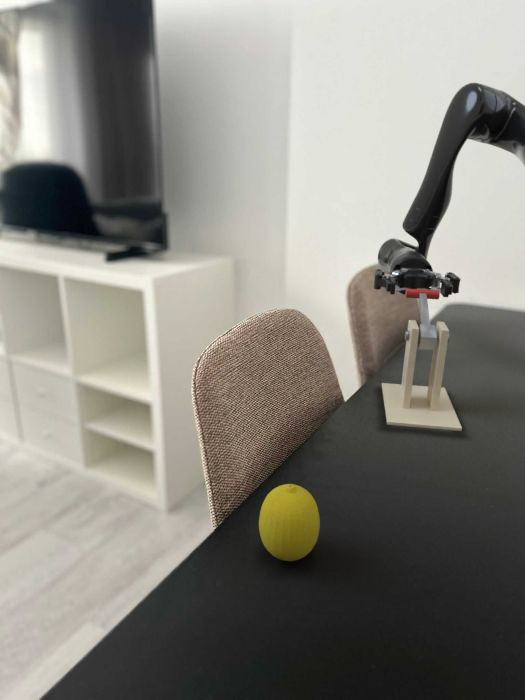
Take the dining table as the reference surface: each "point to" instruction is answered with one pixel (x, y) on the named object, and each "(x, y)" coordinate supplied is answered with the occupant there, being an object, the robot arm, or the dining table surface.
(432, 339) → the lever
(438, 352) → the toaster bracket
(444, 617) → the dining table surface
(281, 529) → the lemon
